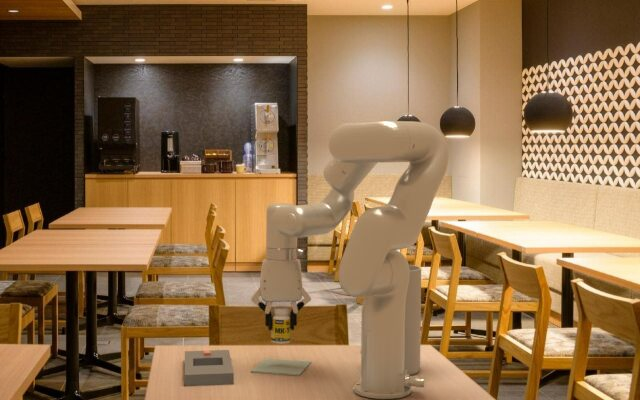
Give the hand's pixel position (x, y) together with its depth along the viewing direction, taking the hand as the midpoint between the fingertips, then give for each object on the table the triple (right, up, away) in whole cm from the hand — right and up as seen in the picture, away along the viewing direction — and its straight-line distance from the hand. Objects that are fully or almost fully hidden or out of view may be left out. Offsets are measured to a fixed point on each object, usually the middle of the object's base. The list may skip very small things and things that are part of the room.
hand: (280, 328), depth 206 cm
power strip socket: (-17, -10, -4) cm, 20 cm away
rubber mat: (0, -10, +1) cm, 10 cm away
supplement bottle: (0, -4, 0) cm, 4 cm away
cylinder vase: (+27, -10, -2) cm, 29 cm away
